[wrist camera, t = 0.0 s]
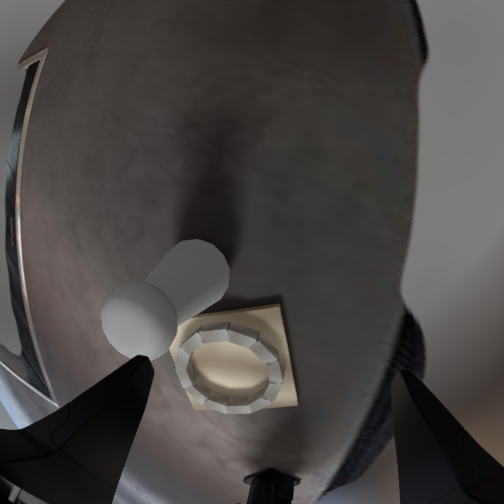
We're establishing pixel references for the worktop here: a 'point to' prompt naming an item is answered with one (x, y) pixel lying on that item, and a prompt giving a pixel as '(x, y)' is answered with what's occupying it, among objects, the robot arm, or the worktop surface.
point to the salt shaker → (164, 299)
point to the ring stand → (235, 360)
